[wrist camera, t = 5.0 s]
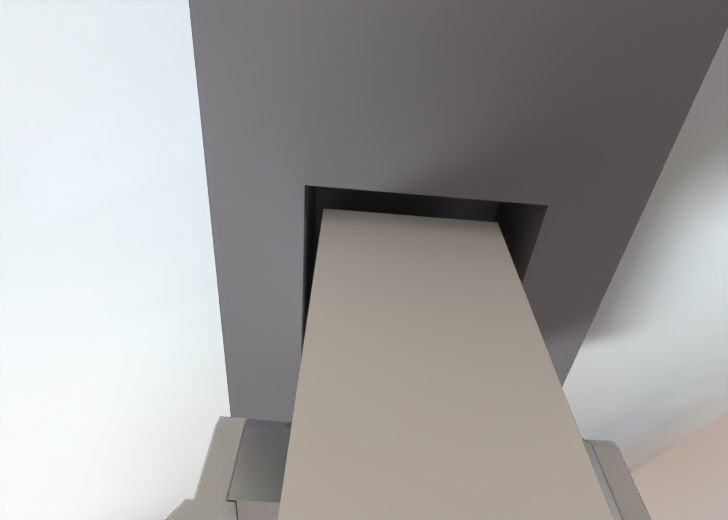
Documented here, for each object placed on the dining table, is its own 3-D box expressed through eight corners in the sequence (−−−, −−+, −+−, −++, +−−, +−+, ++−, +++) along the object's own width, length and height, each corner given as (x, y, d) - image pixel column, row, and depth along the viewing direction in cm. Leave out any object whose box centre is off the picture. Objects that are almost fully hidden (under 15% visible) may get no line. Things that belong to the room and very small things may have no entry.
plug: (463, 347, 16) (565, 841, 8) (317, 337, 16) (258, 833, 7) (497, 222, 13) (706, 761, 5) (323, 208, 13) (244, 743, 5)
